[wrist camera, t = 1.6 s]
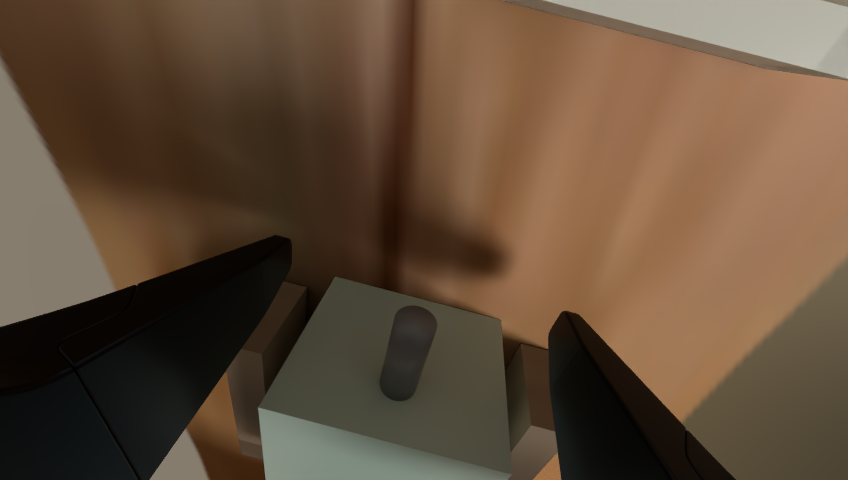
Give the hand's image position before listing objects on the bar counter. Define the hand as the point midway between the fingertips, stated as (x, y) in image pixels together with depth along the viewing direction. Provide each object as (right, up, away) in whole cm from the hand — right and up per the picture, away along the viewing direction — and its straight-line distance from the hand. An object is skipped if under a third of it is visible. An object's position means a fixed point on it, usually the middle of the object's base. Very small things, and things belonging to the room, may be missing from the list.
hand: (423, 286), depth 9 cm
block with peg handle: (-1, -2, +3) cm, 4 cm away
